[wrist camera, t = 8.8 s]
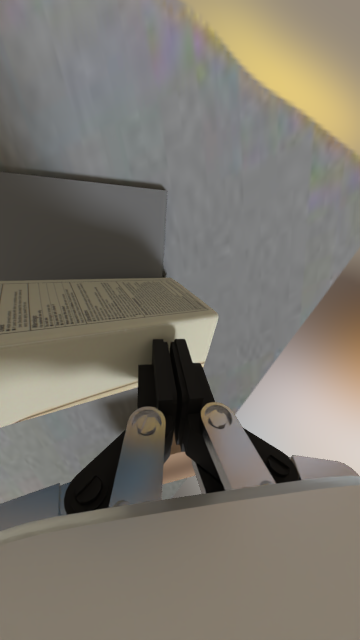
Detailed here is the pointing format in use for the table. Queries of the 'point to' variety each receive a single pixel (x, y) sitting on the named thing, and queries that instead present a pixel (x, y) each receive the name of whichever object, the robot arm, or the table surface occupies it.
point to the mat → (79, 229)
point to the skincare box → (88, 338)
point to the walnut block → (177, 465)
